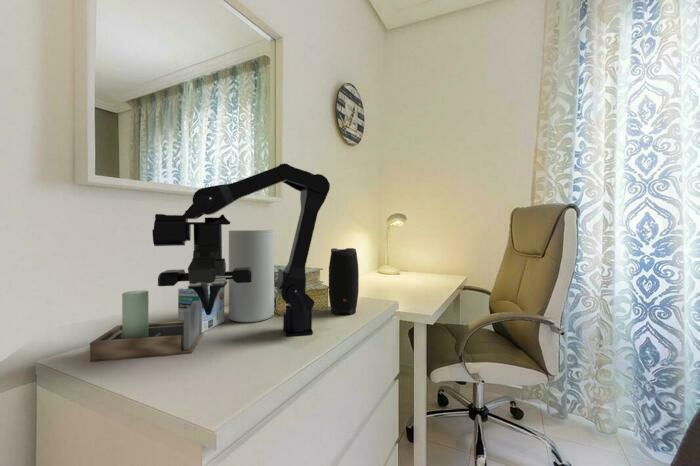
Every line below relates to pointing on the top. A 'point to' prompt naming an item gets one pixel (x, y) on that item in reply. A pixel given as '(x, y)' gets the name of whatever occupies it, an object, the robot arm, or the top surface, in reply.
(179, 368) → the top surface
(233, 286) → the cylinder vase
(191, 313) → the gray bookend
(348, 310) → the portable speaker
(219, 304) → the light bulb box
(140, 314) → the pale green cylinder
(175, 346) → the dock
